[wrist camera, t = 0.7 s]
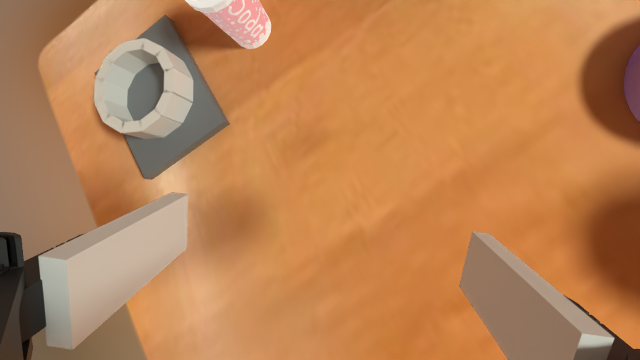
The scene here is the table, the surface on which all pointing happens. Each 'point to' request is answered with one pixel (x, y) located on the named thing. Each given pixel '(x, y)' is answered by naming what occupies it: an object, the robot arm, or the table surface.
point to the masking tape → (633, 83)
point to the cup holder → (157, 98)
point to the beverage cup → (237, 19)
